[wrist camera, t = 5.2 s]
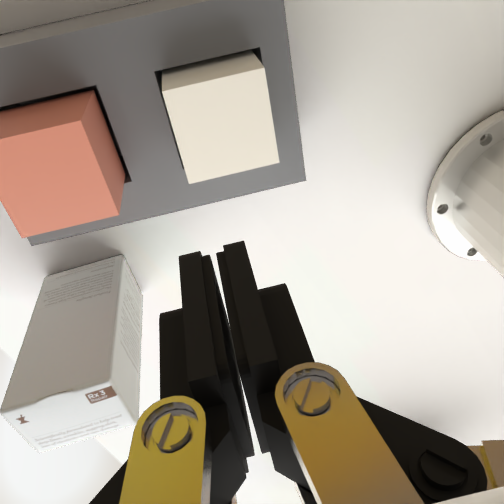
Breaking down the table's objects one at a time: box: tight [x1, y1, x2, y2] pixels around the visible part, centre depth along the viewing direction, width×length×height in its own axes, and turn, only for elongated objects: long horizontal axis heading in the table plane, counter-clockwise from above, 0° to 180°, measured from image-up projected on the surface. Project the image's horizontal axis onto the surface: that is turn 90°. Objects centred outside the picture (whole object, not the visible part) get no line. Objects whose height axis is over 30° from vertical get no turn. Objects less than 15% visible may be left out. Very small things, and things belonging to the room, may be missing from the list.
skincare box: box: [0, 255, 143, 453], centre depth 30 cm, size 6×4×12 cm
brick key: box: [0, 90, 125, 238], centre depth 22 cm, size 5×5×4 cm
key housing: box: [0, 0, 306, 246], centre depth 26 cm, size 16×10×5 cm, turn 100°
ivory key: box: [162, 49, 280, 184], centre depth 24 cm, size 5×5×4 cm
